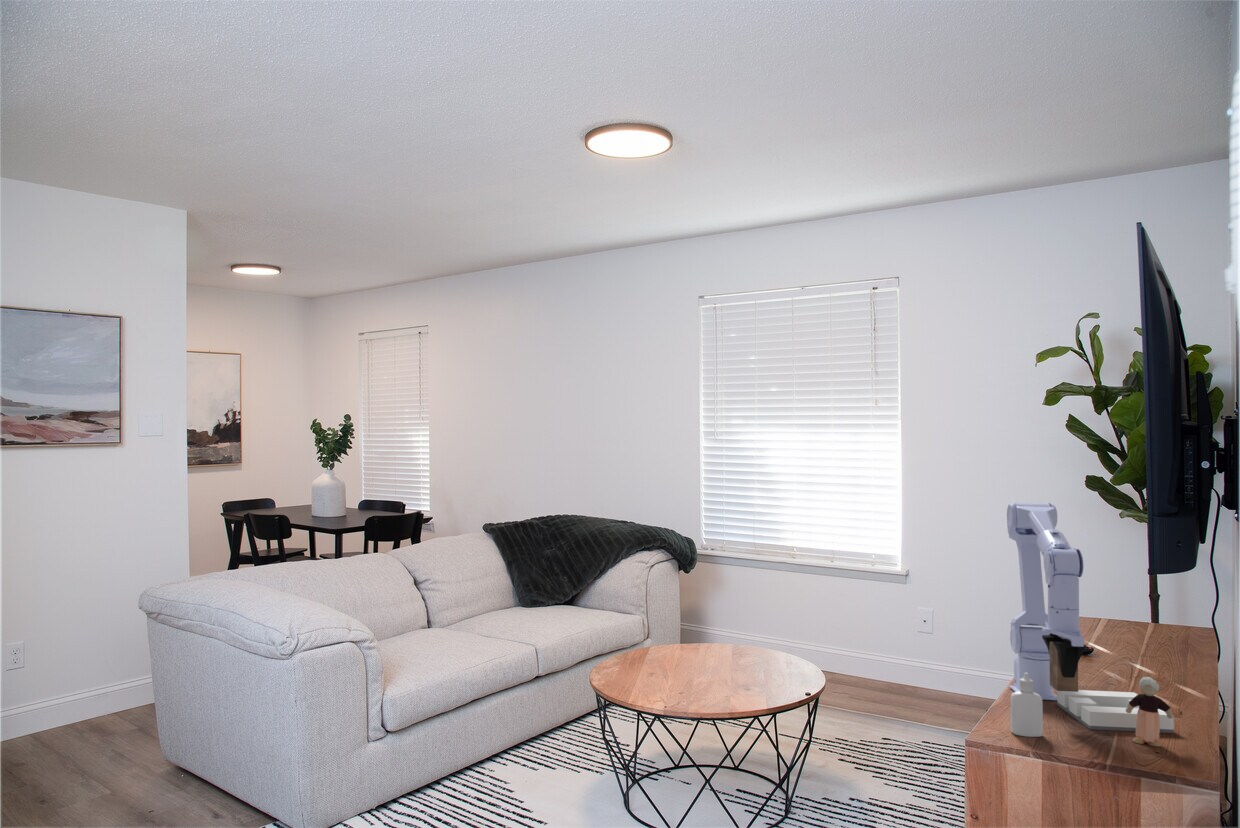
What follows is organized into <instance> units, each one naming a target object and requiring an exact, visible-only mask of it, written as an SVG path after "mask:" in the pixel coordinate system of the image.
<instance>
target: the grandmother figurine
mask: <svg viewBox="0 0 1240 828" xmlns="http://www.w3.org/2000/svg"><path fill="white" fill-rule="evenodd" d="M1138 684H1139V688H1140V690H1141V692H1142V693H1139V694H1138V693H1137V696H1135V697H1134V698H1133V699H1132V700H1131V701H1130V702H1129V704H1128V706H1127V708H1126V712H1127V713H1131V712H1132V710H1133V708H1134V707H1136V706H1139V709H1138V712H1137V720H1136V731H1135V736H1136V737H1134V738H1133V739H1132V742H1133V743H1136V744H1141V745H1142V744H1145V743H1146V742H1148V743H1147V744H1148V745H1150V746H1153V747H1161V744H1160V742H1159V740H1160V733H1159V732H1160V719H1159V713H1158V709H1160V710H1162V711H1164V712H1165V713H1166V714H1167V717H1168V718H1170V719H1171V718H1173V715H1174V714H1173V713H1172V709H1171V706H1169V704H1167V703H1166V702H1165V701H1164V700H1163V699H1161V698H1159V697H1158V696H1155V695H1156V694H1157V692H1158V691H1160V686H1159V684H1158V681H1156V680H1155V679H1154V678H1152V677H1151V676H1142V677H1141V679H1140V680H1139V683H1138Z"/></svg>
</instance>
